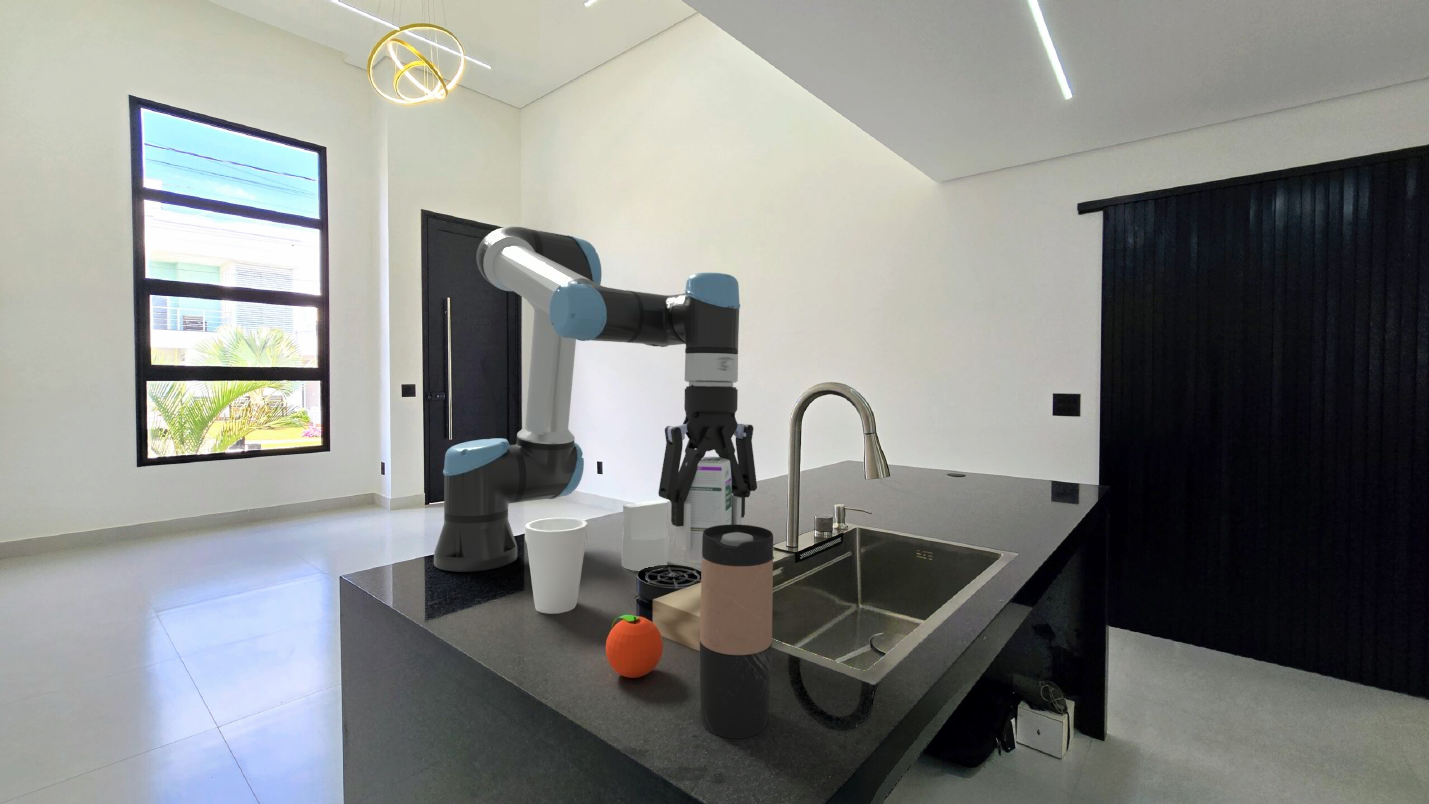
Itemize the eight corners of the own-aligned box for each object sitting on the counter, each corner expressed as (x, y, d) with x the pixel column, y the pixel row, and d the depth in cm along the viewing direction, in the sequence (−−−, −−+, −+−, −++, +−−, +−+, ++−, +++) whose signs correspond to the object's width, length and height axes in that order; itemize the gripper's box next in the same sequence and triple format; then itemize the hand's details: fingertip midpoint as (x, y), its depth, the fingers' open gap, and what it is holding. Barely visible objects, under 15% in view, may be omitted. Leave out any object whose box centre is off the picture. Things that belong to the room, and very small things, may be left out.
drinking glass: (638, 575, 111) (639, 510, 111) (612, 563, 118) (613, 502, 118) (677, 566, 117) (678, 504, 117) (650, 555, 124) (651, 497, 124)
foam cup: (536, 622, 89) (537, 534, 89) (516, 602, 96) (516, 521, 96) (596, 608, 95) (597, 526, 94) (572, 591, 102) (573, 515, 102)
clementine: (588, 671, 74) (588, 614, 74) (631, 653, 79) (632, 600, 79) (630, 695, 69) (631, 633, 69) (674, 674, 74) (675, 616, 74)
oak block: (652, 633, 86) (652, 599, 86) (703, 612, 95) (704, 580, 94) (710, 658, 79) (710, 620, 79) (760, 632, 87) (761, 598, 87)
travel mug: (746, 694, 70) (749, 521, 69) (784, 728, 63) (788, 537, 62) (686, 710, 66) (689, 527, 65) (719, 748, 59) (723, 545, 58)
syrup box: (725, 567, 83) (727, 462, 83) (683, 564, 84) (685, 460, 84) (732, 555, 89) (734, 457, 88) (693, 552, 90) (694, 455, 89)
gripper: (659, 384, 77) (657, 562, 78) (784, 386, 88) (781, 540, 89) (633, 383, 83) (631, 548, 84) (753, 385, 95) (750, 529, 95)
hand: (708, 544), depth 86 cm, fingers closed on syrup box, 8 cm apart
